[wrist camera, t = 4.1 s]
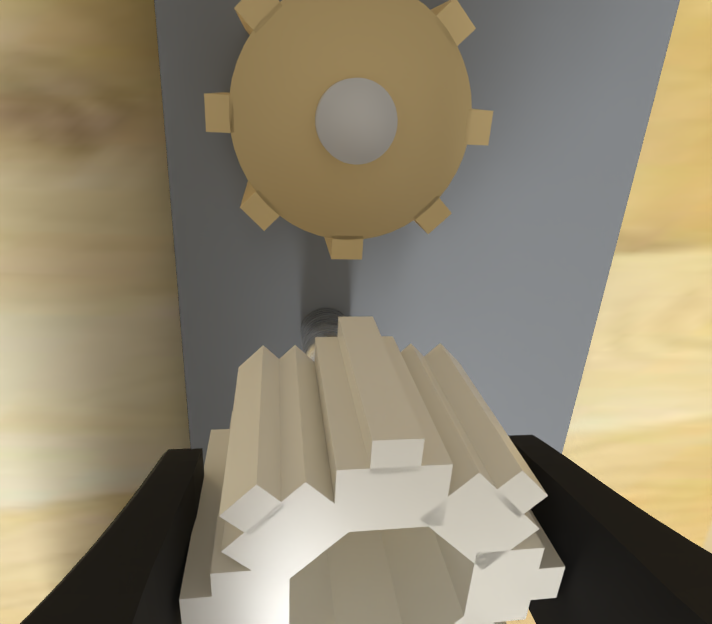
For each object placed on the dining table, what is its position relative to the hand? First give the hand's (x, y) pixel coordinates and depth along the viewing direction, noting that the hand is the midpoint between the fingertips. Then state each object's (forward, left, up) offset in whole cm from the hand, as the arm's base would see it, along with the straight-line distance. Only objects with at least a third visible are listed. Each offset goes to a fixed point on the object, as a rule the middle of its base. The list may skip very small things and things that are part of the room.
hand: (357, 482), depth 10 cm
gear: (0, 0, -1) cm, 1 cm away
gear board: (+3, 0, -8) cm, 9 cm away
